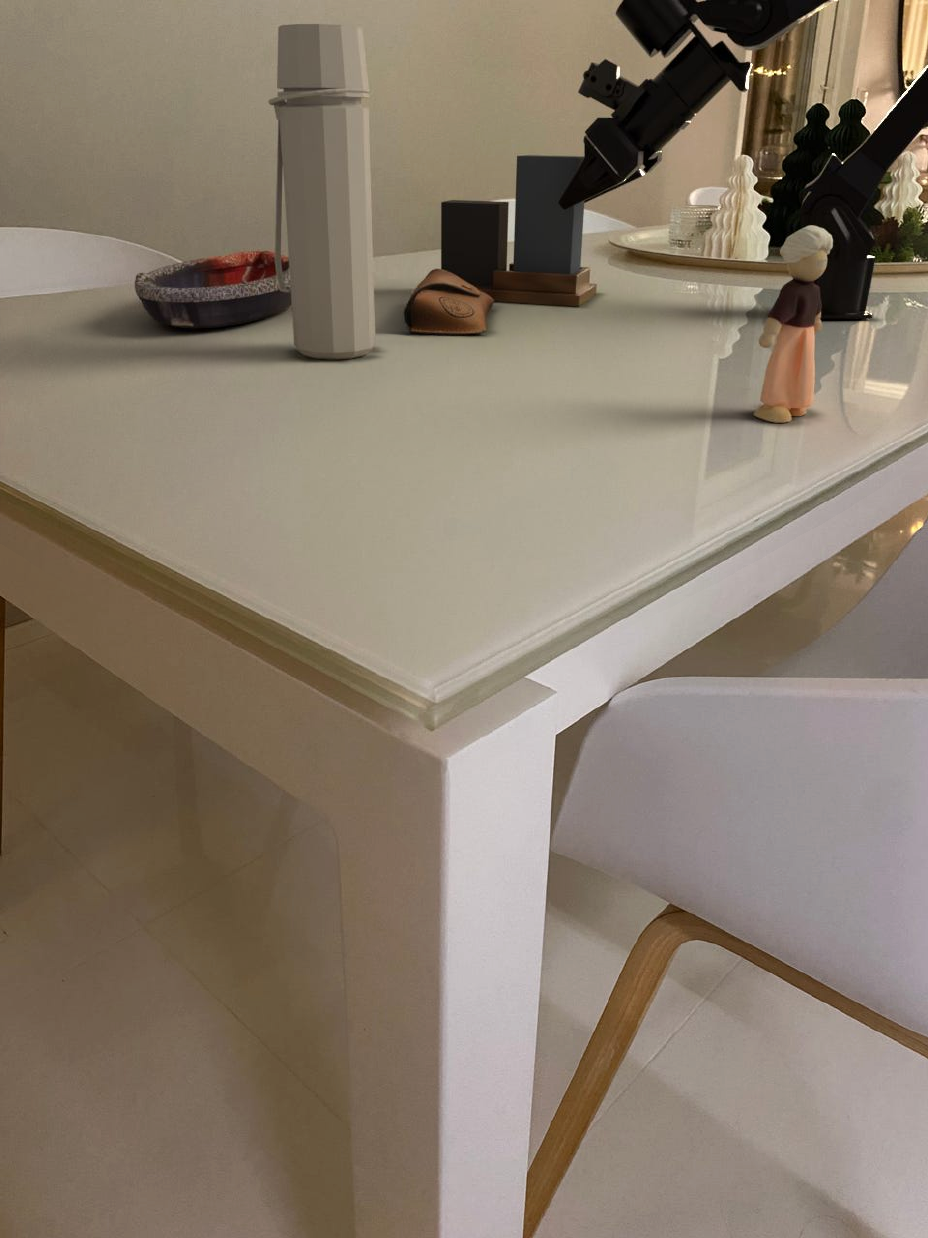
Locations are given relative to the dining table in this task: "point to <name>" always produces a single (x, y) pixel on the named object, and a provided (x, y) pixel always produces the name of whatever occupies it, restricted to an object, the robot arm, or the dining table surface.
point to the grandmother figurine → (794, 328)
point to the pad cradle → (500, 258)
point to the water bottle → (325, 188)
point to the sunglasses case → (447, 306)
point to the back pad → (546, 216)
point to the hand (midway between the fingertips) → (570, 203)
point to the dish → (215, 290)
